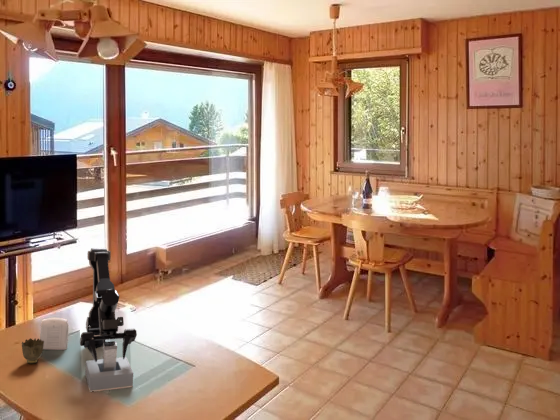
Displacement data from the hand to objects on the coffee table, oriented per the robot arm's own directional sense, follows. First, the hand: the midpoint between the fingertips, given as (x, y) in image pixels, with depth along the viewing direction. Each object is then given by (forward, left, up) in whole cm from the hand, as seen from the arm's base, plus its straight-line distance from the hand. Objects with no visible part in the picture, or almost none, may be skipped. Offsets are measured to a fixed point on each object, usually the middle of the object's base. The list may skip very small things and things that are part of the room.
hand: (110, 360), depth 183 cm
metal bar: (-1, -1, -8) cm, 8 cm away
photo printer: (-5, -38, -8) cm, 39 cm away
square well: (-1, -1, -8) cm, 8 cm away
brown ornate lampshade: (+8, -32, -8) cm, 34 cm away
